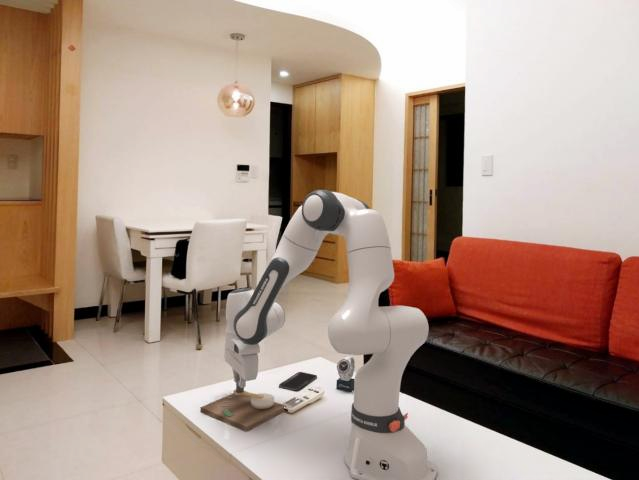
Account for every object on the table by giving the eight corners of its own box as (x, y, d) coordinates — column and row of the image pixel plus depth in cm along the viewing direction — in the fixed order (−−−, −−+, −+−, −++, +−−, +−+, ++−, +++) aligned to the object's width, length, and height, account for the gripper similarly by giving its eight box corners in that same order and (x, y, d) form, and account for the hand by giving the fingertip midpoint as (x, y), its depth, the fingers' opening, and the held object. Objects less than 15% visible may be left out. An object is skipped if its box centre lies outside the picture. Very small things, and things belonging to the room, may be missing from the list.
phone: (277, 385, 166) (299, 371, 180) (277, 388, 166) (299, 374, 180) (298, 389, 163) (318, 375, 176) (298, 393, 163) (318, 378, 176)
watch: (333, 390, 165) (334, 359, 164) (344, 383, 172) (345, 352, 171) (348, 394, 162) (349, 362, 161) (358, 386, 169) (360, 355, 168)
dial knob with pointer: (278, 401, 151) (278, 375, 150) (267, 410, 144) (267, 383, 143) (240, 393, 156) (240, 368, 155) (228, 402, 149) (228, 375, 149)
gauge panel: (286, 410, 149) (286, 405, 149) (246, 431, 135) (246, 425, 135) (241, 394, 160) (241, 389, 160) (200, 412, 146) (200, 406, 146)
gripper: (219, 332, 157) (219, 374, 158) (241, 351, 139) (241, 398, 141) (238, 330, 160) (238, 371, 161) (262, 349, 142) (261, 394, 144)
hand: (239, 384), depth 151 cm, fingers open, 3 cm apart
